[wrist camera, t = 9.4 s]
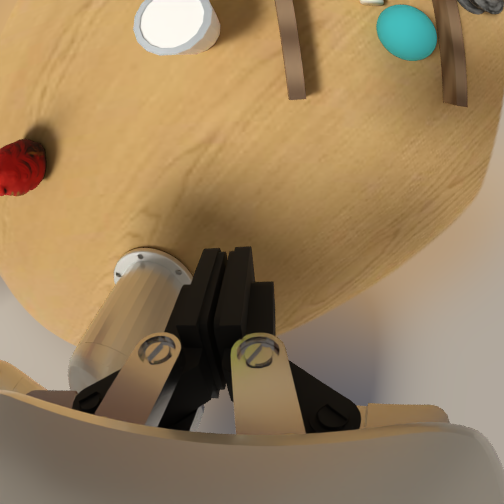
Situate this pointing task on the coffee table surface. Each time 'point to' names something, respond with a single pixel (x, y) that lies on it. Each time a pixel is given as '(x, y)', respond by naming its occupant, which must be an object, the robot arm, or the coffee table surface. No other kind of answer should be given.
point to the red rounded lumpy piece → (21, 167)
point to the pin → (372, 2)
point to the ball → (406, 32)
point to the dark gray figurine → (482, 6)
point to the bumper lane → (448, 43)
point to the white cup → (176, 26)
